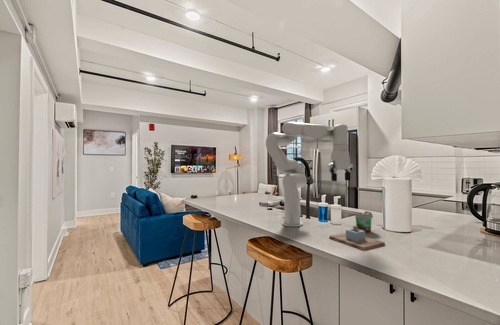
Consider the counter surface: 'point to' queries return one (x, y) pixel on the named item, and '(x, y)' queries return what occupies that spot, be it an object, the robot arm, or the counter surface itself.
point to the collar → (355, 235)
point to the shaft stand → (362, 244)
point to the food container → (364, 221)
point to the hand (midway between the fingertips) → (341, 180)
